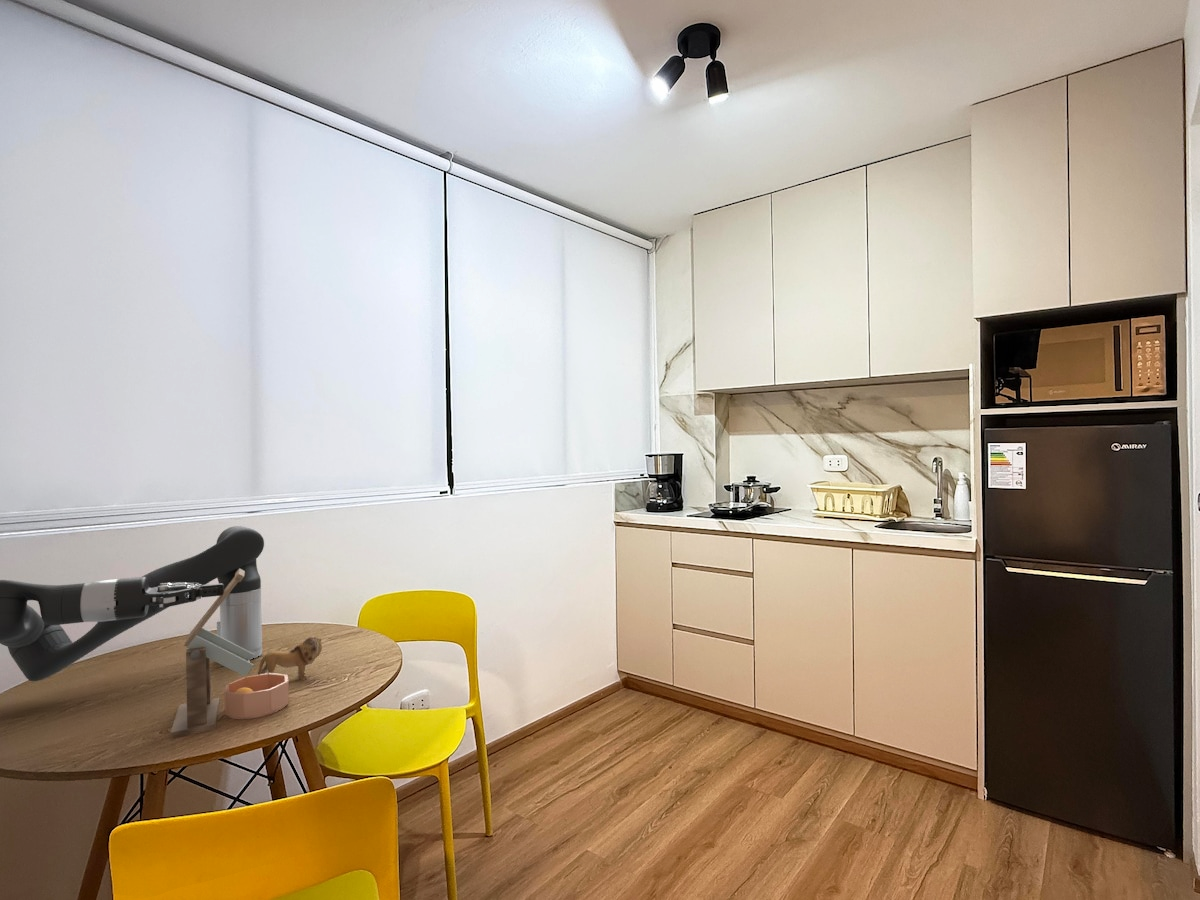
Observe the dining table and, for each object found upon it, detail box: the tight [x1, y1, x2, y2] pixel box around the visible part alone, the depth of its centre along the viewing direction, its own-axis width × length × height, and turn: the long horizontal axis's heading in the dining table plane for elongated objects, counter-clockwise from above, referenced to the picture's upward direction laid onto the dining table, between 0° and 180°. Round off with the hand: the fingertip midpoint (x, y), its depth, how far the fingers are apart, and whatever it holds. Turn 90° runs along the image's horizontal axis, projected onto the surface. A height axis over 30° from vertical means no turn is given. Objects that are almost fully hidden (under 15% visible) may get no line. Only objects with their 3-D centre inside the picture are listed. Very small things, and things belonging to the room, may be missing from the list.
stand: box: [170, 647, 221, 739], centre depth 124 cm, size 7×15×15 cm, turn 28°
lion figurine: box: [256, 635, 323, 680], centre depth 146 cm, size 15×5×9 cm, turn 117°
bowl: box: [224, 672, 290, 720], centre depth 129 cm, size 11×11×5 cm
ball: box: [236, 687, 253, 693], centre depth 128 cm, size 4×4×4 cm
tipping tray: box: [183, 568, 254, 677], centre depth 128 cm, size 13×8×16 cm
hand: (223, 589), depth 127 cm, fingers closed
